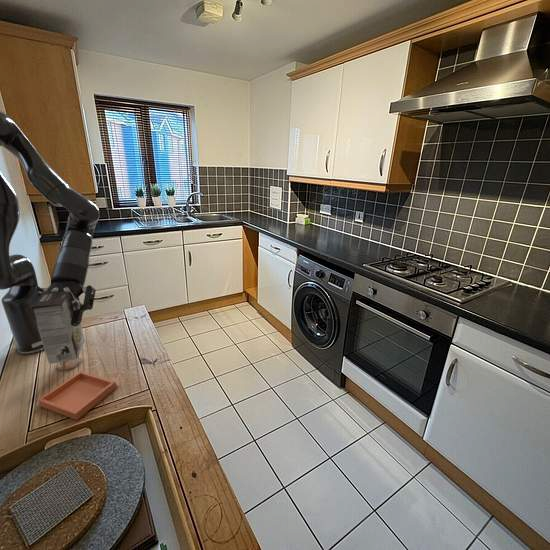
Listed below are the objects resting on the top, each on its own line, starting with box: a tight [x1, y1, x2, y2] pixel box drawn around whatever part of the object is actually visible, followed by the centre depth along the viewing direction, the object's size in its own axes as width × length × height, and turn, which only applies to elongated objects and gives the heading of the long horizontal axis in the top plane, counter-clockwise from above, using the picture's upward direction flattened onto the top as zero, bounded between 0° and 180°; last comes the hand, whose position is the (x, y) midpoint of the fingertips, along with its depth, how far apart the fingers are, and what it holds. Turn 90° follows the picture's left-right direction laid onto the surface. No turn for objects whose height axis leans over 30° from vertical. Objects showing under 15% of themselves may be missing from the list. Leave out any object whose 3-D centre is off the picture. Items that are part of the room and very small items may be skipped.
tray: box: [37, 370, 118, 421], centre depth 81 cm, size 14×13×2 cm
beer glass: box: [56, 357, 81, 371], centre depth 92 cm, size 7×7×15 cm
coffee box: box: [31, 290, 86, 365], centre depth 74 cm, size 9×6×16 cm
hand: (56, 326), depth 72 cm, fingers closed on coffee box, 7 cm apart
